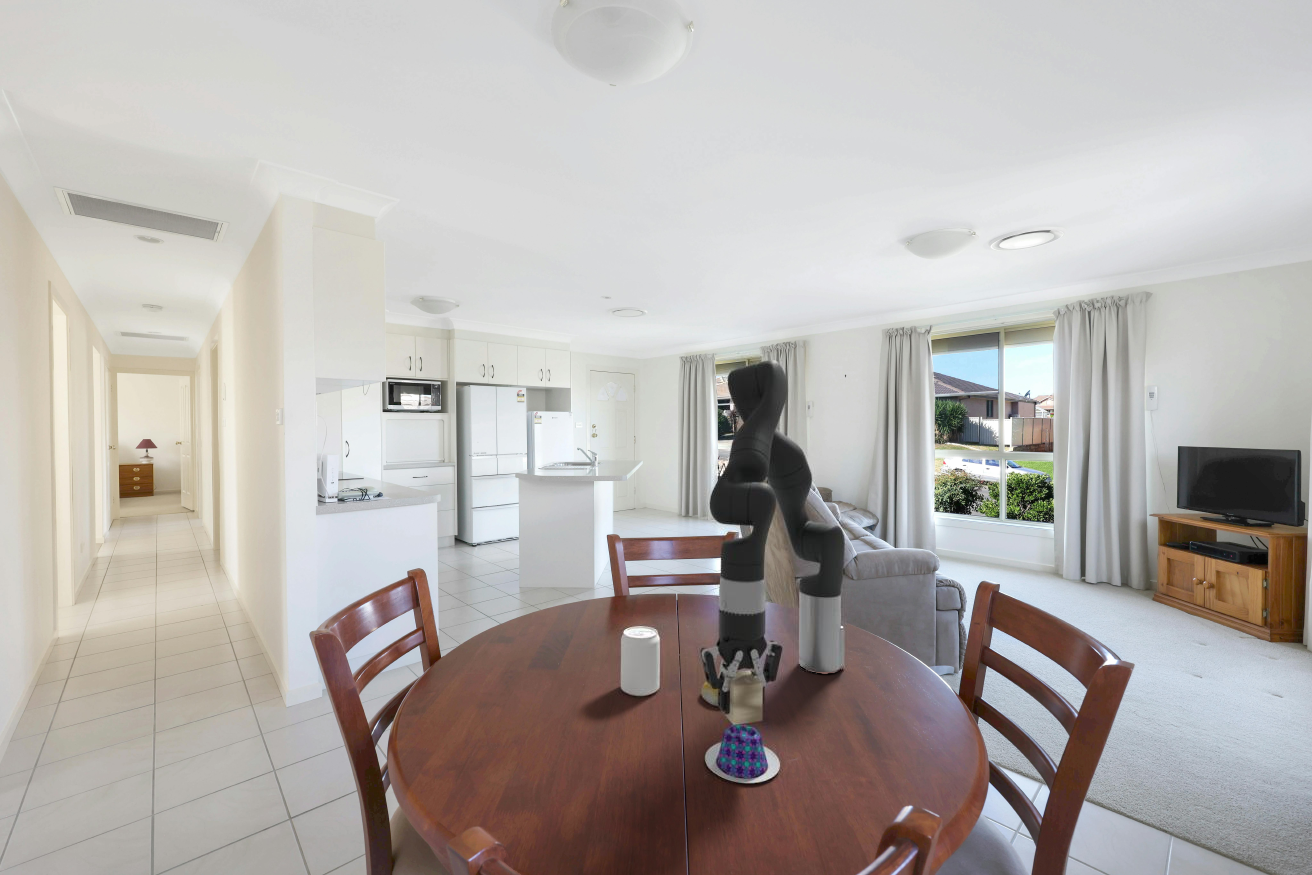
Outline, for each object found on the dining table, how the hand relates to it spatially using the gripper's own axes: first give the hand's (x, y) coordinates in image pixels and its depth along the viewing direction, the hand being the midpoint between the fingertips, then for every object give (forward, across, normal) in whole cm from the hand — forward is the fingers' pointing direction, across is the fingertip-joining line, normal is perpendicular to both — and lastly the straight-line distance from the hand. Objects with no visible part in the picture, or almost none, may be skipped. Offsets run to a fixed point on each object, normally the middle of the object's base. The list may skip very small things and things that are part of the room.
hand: (741, 709), depth 90 cm
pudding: (+9, 0, 0) cm, 9 cm away
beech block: (+1, 0, 0) cm, 1 cm away
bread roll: (+9, -6, -22) cm, 25 cm away
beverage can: (+9, +9, -30) cm, 32 cm away
